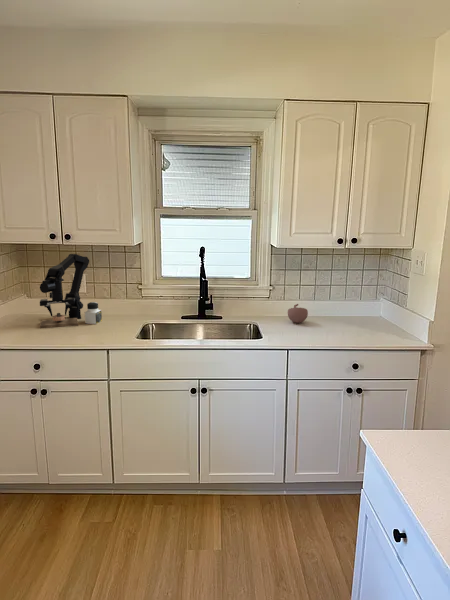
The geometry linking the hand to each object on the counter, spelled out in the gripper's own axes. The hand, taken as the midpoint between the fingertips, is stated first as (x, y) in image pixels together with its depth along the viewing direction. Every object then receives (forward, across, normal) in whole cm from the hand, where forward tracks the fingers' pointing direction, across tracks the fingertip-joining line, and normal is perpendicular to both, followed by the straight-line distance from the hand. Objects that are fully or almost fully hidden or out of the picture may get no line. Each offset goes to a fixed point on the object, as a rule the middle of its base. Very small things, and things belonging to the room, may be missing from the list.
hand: (58, 316), depth 238 cm
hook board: (+5, 0, 0) cm, 5 cm away
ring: (+2, 0, 0) cm, 2 cm away
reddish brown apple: (+5, -135, +40) cm, 141 cm away
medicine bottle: (+5, -19, +2) cm, 20 cm away
